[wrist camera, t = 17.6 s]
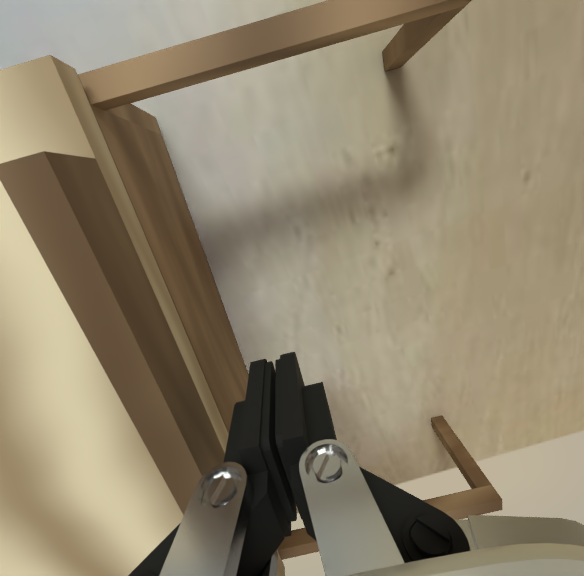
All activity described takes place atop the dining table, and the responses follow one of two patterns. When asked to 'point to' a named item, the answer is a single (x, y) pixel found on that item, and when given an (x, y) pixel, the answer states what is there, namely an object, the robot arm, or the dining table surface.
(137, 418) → the lid
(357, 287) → the dining table surface
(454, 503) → the wooden box
